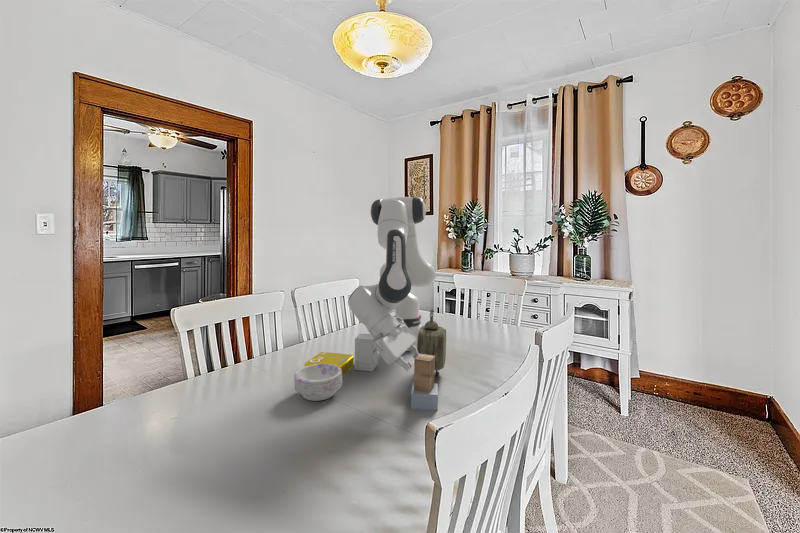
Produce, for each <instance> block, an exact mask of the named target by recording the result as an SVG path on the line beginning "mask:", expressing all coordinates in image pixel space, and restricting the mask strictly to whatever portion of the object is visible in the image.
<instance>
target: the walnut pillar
mask: <svg viewBox="0 0 800 533" xmlns="http://www.w3.org/2000/svg"><path fill="white" fill-rule="evenodd" d="M413 361H414V364H413V367H414V368H413V371H414V373H413V376H414V377H413V379H414V380H413V383H414V390H415V391H421V392H426V393H430V392H431V390H432V389H433V388H434V384H435V372H436V370H435V356H433V355H426V354H419V355H418V356H417V357H416V358H413Z"/></svg>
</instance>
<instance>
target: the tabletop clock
mask: <svg viewBox="0 0 800 533" xmlns="http://www.w3.org/2000/svg"><path fill="white" fill-rule="evenodd" d="M417 351H418V353H419V354H426V355H433V356H435V373H434V376H437V377H438V376H440V372H439V371H440V370H443V369H444V368H445V363H446V358H447V357H446V355H447V329H446V328H445V327H442V326H439V325H438V323H437V322H436V321H435V320H434V309H433V308H431V309H430V312H429V320H428V321H427V322H426V323H425V324H424V325H422V326H421V327H420V329H419V332H418V339H417Z"/></svg>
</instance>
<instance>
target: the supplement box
mask: <svg viewBox="0 0 800 533" xmlns="http://www.w3.org/2000/svg"><path fill="white" fill-rule="evenodd" d="M376 366H378V351H377V349H376V345H375V344H374V337H373V336H372V335H371V334H370V333H359V334H358V335H357V336H356V337H355V338H354V370H355V371H361V372H373V371H374V370H375V368H376Z"/></svg>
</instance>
